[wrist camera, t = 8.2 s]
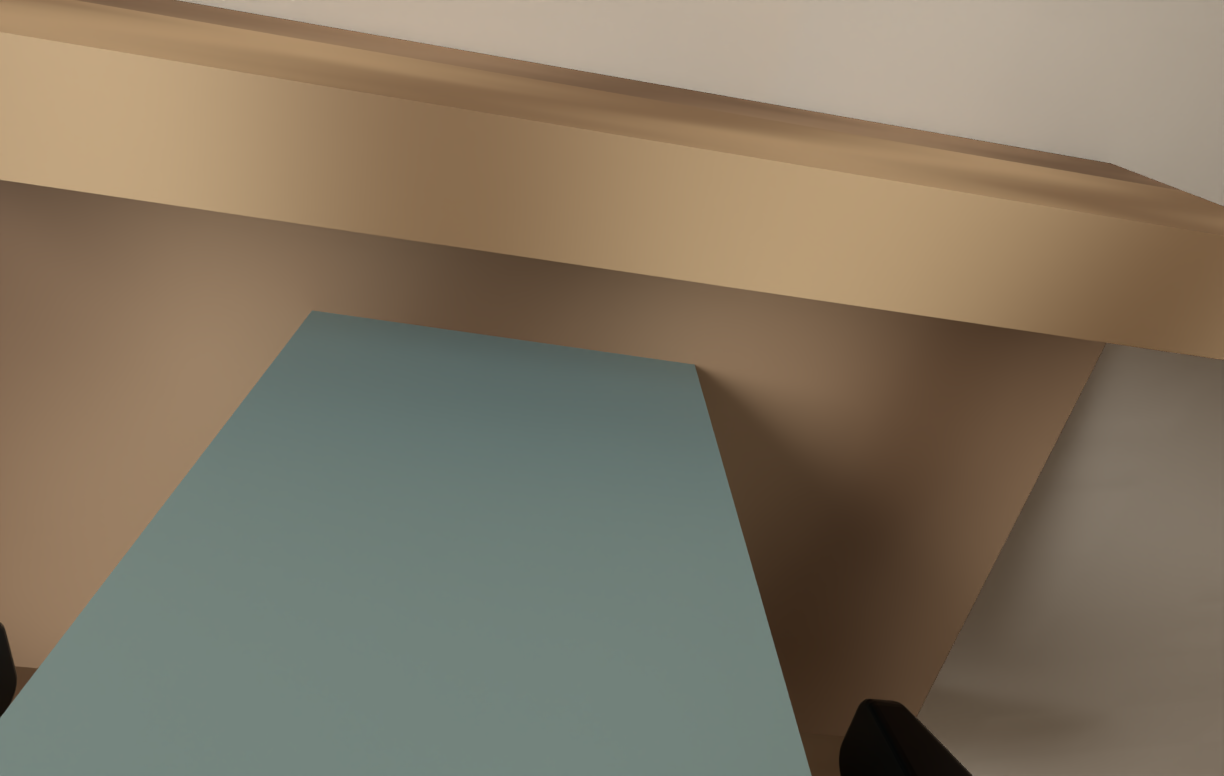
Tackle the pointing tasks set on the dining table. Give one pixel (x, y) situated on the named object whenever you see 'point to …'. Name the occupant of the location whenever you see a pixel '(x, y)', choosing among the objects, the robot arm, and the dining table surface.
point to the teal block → (429, 582)
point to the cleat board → (561, 296)
